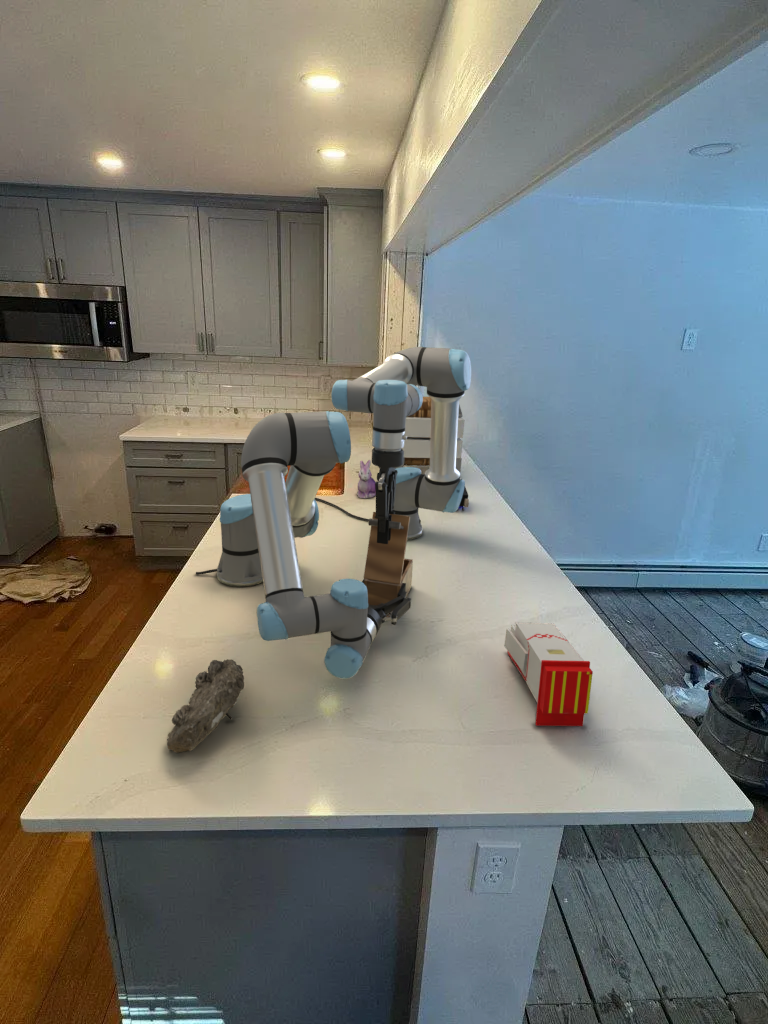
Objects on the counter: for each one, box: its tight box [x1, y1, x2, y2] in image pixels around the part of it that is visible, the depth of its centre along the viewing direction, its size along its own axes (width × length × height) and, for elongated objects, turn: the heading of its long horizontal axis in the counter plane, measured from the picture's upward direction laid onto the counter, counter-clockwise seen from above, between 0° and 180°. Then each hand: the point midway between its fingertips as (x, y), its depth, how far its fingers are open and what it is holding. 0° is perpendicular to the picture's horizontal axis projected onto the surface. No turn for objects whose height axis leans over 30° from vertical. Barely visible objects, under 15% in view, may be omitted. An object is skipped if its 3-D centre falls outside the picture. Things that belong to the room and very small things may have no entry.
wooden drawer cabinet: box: [395, 396, 465, 475], centre depth 268 cm, size 34×33×41 cm
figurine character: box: [458, 486, 470, 512], centre depth 229 cm, size 7×8×15 cm
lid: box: [363, 511, 410, 584], centre depth 142 cm, size 17×10×8 cm
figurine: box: [356, 459, 376, 499], centre depth 236 cm, size 9×10×15 cm
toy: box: [503, 622, 594, 727], centre depth 121 cm, size 12×13×30 cm
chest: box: [364, 558, 414, 615], centre depth 154 cm, size 17×10×9 cm, turn 166°
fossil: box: [166, 658, 245, 754], centre depth 106 cm, size 22×10×15 cm
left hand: (384, 584), depth 149 cm, fingers closed on chest, 10 cm apart
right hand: (383, 541), depth 141 cm, fingers closed on lid, 2 cm apart
